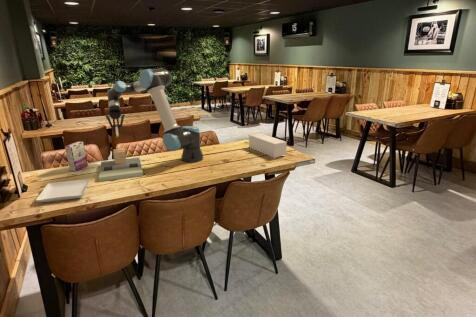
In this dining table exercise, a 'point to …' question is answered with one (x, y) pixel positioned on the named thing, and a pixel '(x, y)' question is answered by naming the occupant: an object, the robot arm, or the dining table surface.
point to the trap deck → (120, 169)
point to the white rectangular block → (267, 145)
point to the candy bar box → (76, 156)
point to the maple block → (119, 156)
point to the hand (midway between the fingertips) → (117, 135)
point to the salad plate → (63, 191)
